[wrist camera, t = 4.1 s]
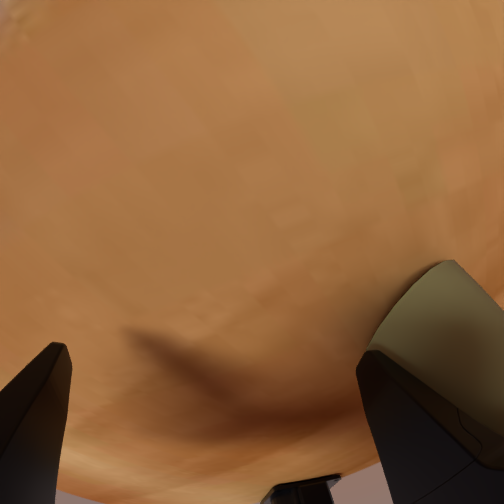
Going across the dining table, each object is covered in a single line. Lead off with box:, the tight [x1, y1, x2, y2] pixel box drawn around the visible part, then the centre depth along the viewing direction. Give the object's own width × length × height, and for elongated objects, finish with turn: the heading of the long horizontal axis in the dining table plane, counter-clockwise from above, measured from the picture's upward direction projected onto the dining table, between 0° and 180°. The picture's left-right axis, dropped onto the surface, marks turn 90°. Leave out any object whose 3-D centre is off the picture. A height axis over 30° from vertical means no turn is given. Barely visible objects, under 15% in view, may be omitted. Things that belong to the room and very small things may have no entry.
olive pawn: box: [366, 260, 504, 437], centre depth 7 cm, size 6×6×11 cm
